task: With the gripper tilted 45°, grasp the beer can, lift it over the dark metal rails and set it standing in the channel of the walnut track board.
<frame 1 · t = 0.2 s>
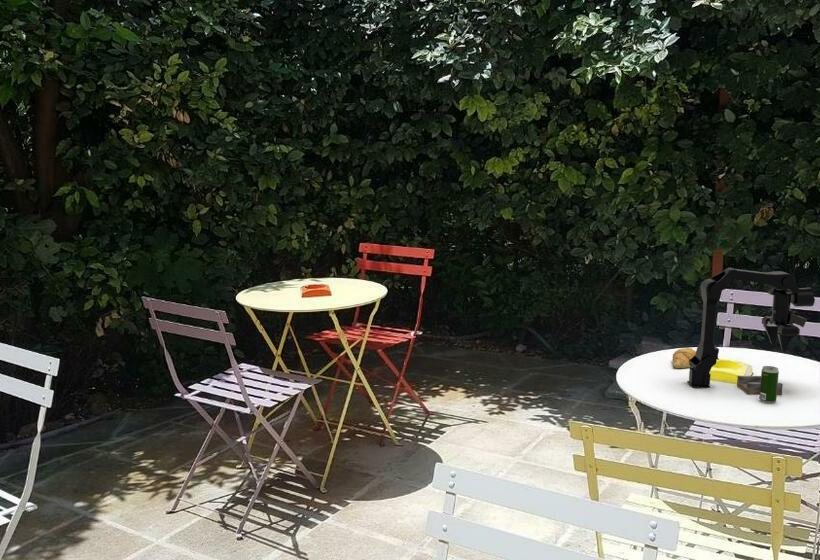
hand: (778, 348, 266), 15 cm above the table, tool pointing down, fingers open, 9 cm apart
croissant: (684, 364, 299), on the table
beer can: (767, 401, 253), on the table
track board: (758, 390, 265), on the table
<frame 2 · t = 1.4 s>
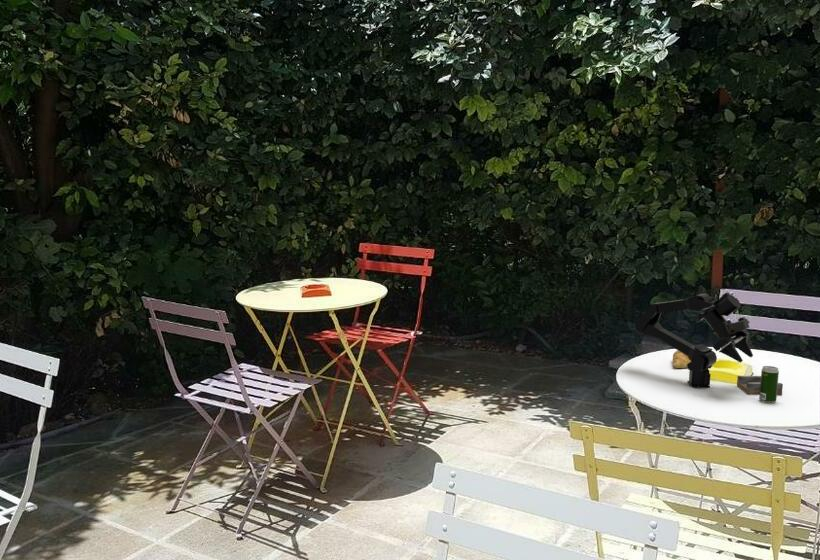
hand: (746, 359, 256), 13 cm above the table, tool tilted 45°, fingers open, 9 cm apart
nothing on the table moved.
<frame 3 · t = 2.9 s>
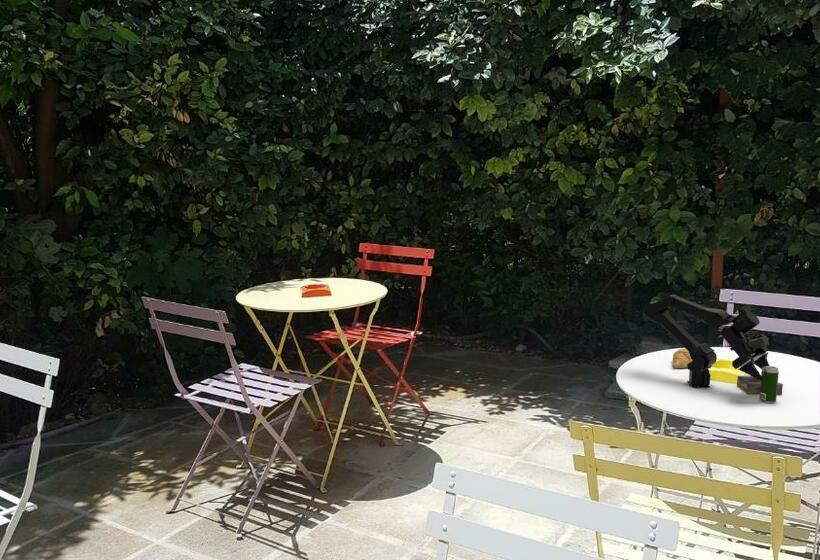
hand: (766, 377, 252), 8 cm above the table, tool tilted 45°, fingers open, 9 cm apart
nothing on the table moved.
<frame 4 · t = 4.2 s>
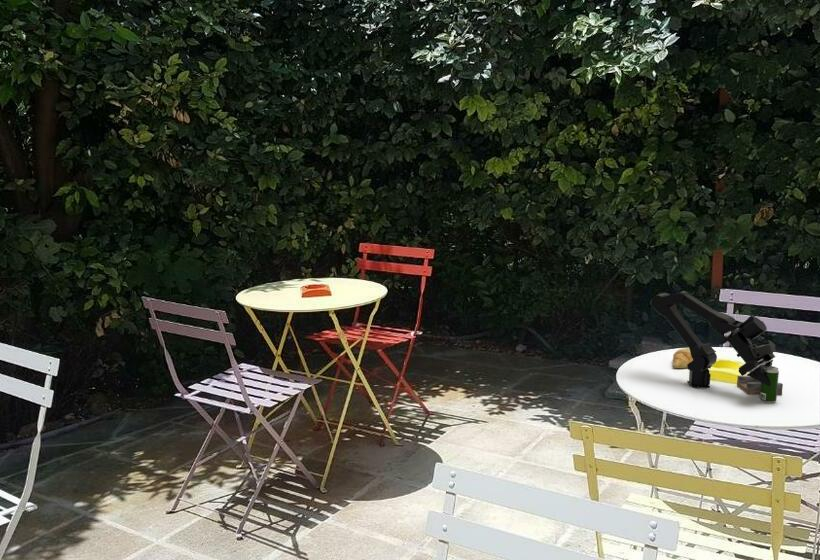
hand: (773, 383, 251), 7 cm above the table, tool tilted 45°, fingers closed on beer can, 5 cm apart
beer can: (767, 401, 253), on the table, touching gripper
everything else where it was.
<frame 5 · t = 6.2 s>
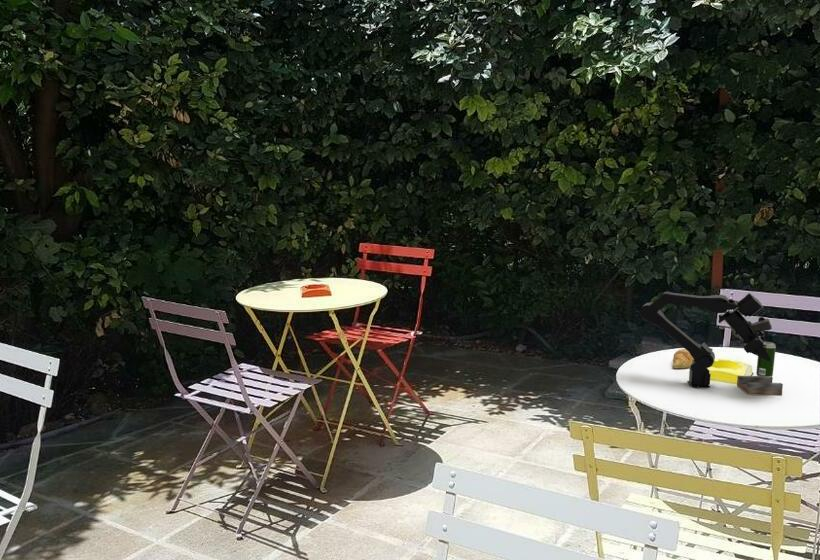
hand: (770, 358, 258), 13 cm above the table, tool tilted 45°, fingers closed on beer can, 5 cm apart
beer can: (764, 376, 260), point 6 cm above the table, touching gripper
everything else where it was.
when the fingers open (9 cm above the table, at t = 8.3 s): beer can drops 1 cm, resting on track board.
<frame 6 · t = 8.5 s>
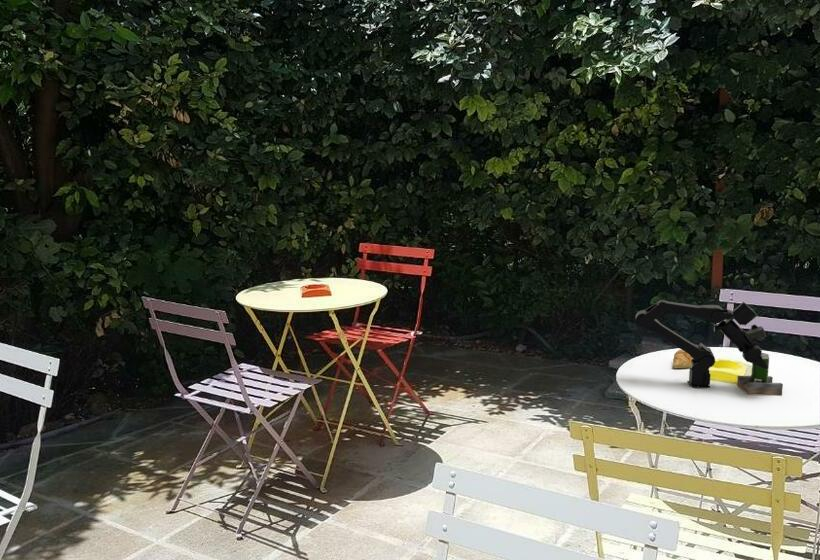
hand: (765, 365, 263), 10 cm above the table, tool tilted 45°, fingers open, 8 cm apart
beer can: (758, 386, 264), point 1 cm above the table, touching track board
everything else where it was.
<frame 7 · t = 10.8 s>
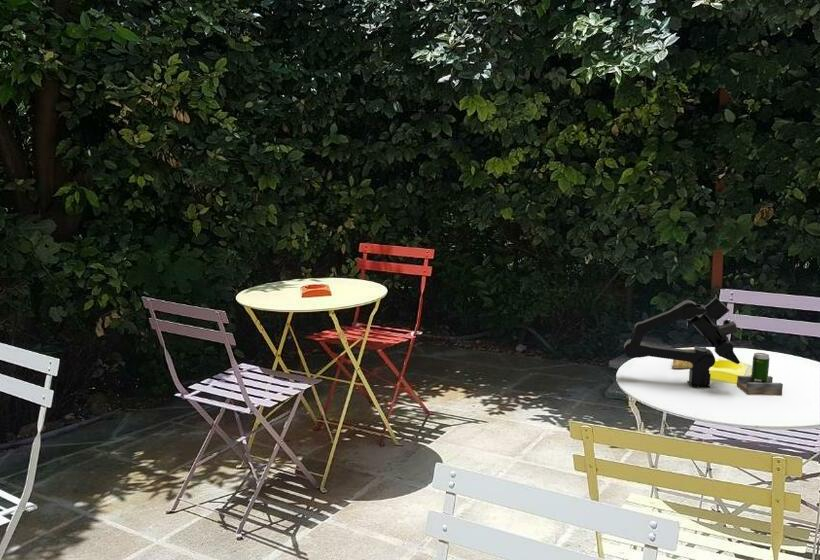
hand: (736, 360, 265), 11 cm above the table, tool tilted 45°, fingers open, 9 cm apart
nothing on the table moved.
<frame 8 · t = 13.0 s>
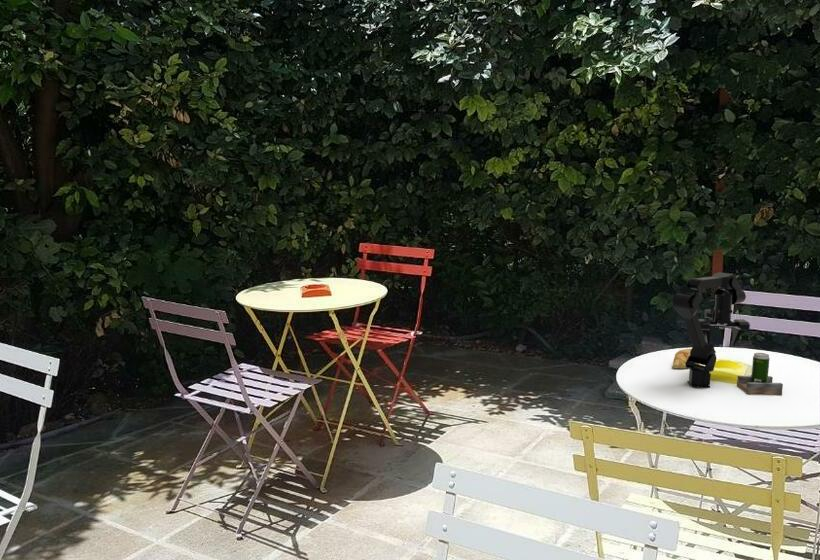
hand: (720, 346, 276), 13 cm above the table, tool pointing down, fingers open, 9 cm apart
at the end: beer can inside the target area on the track board (0.2 cm from its centre), point 1.3 cm above the track board's base; beer can tilted 0°; the gripper is holding nothing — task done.
